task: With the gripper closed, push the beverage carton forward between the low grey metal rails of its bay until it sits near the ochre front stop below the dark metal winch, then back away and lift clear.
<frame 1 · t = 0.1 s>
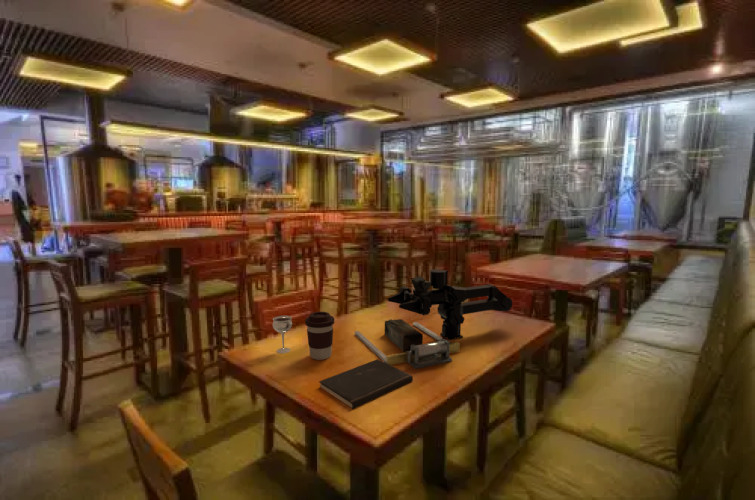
hand: (393, 302, 143), 17 cm above the table, tool horizontal, fingers open, 9 cm apart
beverage carton: (402, 342, 150), on the table
wineglass: (283, 351, 142), on the table
hardcover book: (366, 386, 118), on the table
winch: (429, 362, 132), on the table
coffee cup: (320, 356, 137), on the table
bay: (403, 342, 149), on the table
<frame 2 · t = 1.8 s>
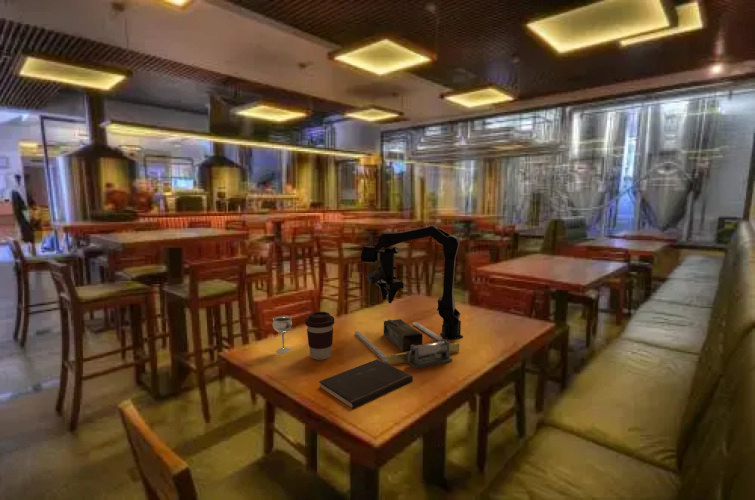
hand: (387, 301, 161), 12 cm above the table, tool pointing down, fingers open, 5 cm apart
nothing on the table moved.
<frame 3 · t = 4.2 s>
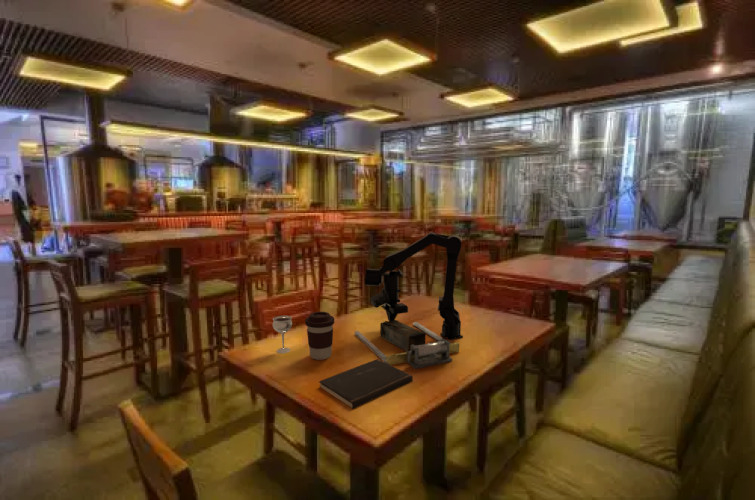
hand: (391, 324, 159), 3 cm above the table, tool pointing down, fingers closed
beverage carton: (401, 343, 149), on the table, touching gripper
everything else where it was.
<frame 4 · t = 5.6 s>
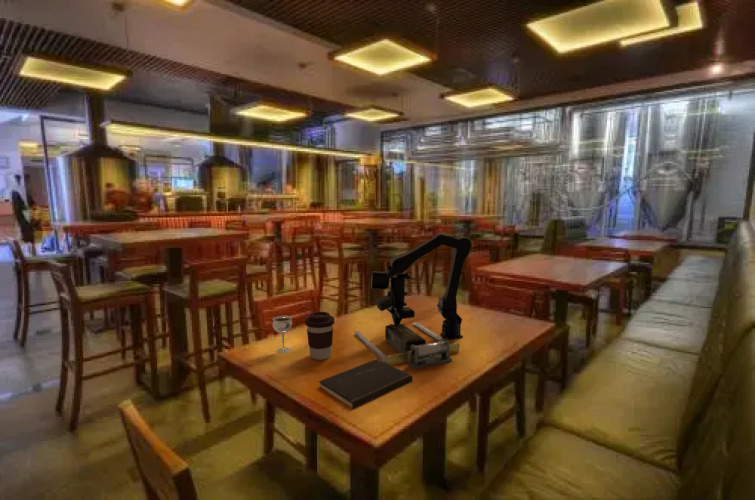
hand: (396, 327, 154), 4 cm above the table, tool pointing down, fingers closed
beverage carton: (404, 348, 144), on the table, touching bay, gripper
everything else where it was.
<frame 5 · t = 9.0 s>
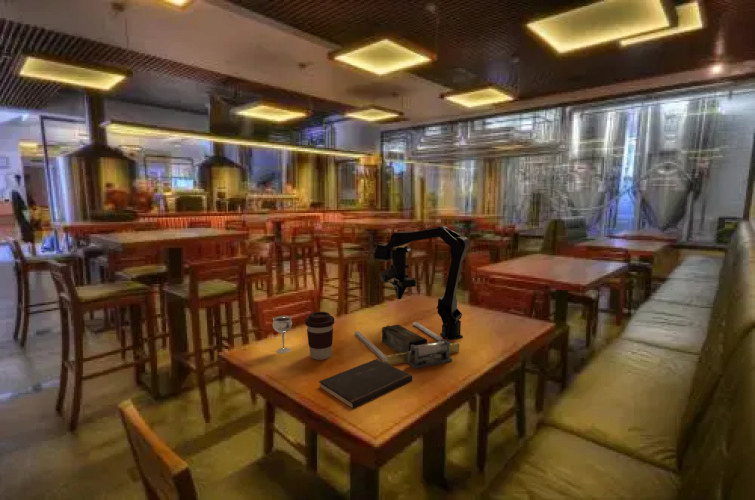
hand: (399, 299, 164), 12 cm above the table, tool pointing down, fingers closed
beverage carton: (403, 349, 144), on the table
everything else where it was.
at the end: beverage carton inside the target area (2.8 cm from its centre), on the table; beverage carton tilted 0°; beverage carton moved 6.3 cm from its start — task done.
